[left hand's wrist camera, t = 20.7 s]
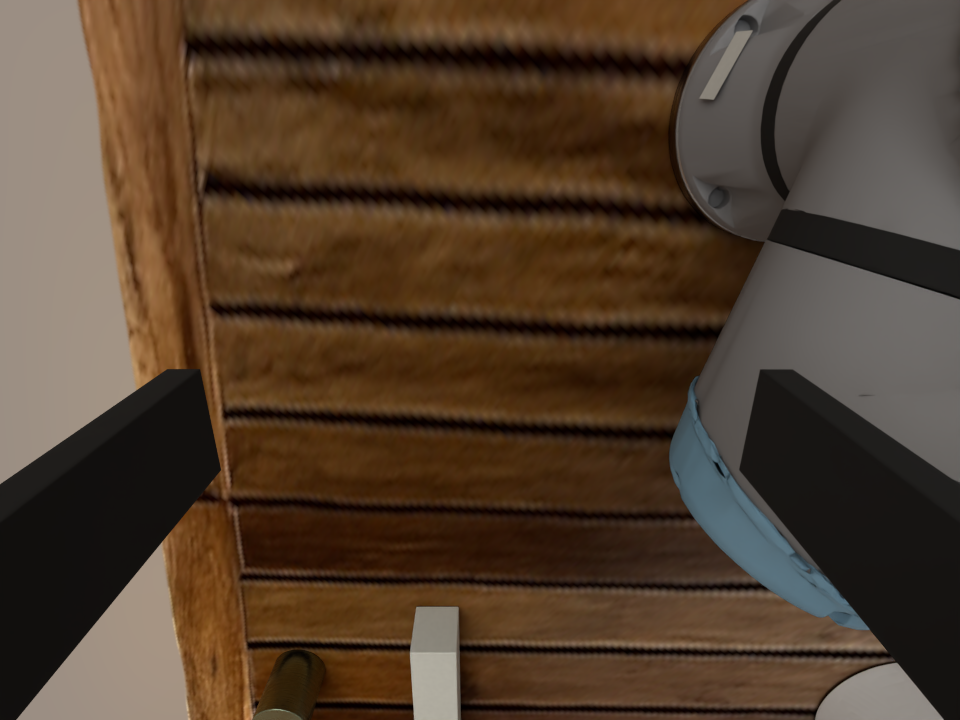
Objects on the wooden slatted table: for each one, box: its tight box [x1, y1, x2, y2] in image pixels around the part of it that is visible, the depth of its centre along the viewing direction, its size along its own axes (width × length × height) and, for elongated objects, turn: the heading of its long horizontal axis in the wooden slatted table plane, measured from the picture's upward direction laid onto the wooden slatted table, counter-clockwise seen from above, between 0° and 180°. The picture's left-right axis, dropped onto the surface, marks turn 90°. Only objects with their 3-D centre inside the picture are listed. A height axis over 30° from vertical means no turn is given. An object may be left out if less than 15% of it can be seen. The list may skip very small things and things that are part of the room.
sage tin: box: [252, 650, 325, 720], centre depth 50 cm, size 5×5×6 cm
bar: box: [410, 607, 461, 720], centre depth 52 cm, size 4×24×5 cm, turn 0°
